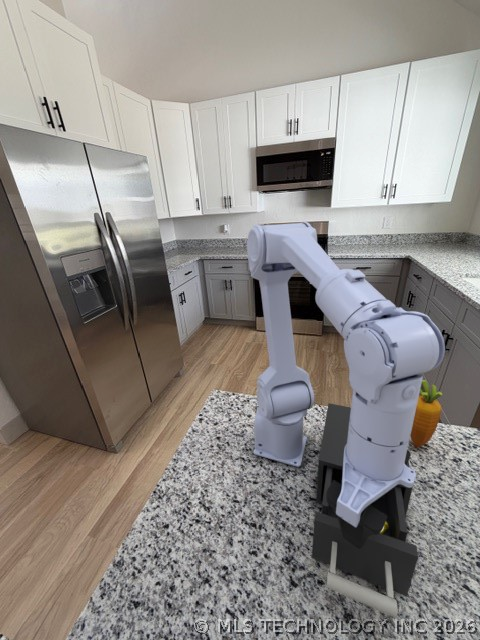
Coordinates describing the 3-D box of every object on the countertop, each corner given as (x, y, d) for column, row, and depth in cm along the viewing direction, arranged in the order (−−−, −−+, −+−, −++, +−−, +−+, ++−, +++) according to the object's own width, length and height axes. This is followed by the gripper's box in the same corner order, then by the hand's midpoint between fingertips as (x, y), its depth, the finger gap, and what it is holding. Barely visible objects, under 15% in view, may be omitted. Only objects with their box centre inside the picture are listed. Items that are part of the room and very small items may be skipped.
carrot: (436, 458, 52) (453, 393, 47) (407, 455, 53) (421, 390, 48) (425, 439, 57) (440, 377, 52) (399, 436, 58) (411, 375, 53)
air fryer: (402, 532, 41) (413, 485, 37) (315, 503, 46) (318, 459, 42) (392, 456, 53) (400, 416, 50) (325, 440, 58) (328, 402, 55)
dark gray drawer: (413, 653, 29) (427, 612, 26) (305, 602, 33) (307, 562, 31) (395, 497, 45) (402, 461, 42) (323, 476, 49) (325, 442, 46)
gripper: (403, 500, 21) (380, 601, 26) (436, 406, 31) (415, 491, 36) (319, 453, 26) (313, 546, 30) (371, 384, 36) (360, 462, 40)
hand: (364, 514), depth 33 cm, fingers open, 7 cm apart
